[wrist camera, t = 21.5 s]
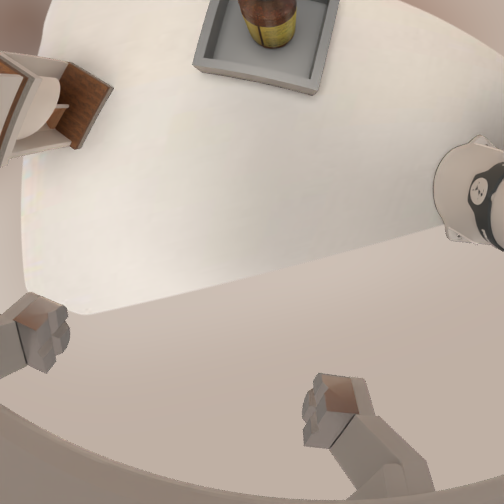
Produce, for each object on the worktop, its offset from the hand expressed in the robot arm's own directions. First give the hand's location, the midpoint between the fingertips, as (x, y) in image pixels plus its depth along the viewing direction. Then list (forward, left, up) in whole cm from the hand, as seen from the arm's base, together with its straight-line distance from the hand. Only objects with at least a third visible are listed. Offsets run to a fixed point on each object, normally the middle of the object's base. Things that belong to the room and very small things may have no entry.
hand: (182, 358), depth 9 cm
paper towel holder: (+32, -6, -39) cm, 51 cm away
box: (+3, -21, -39) cm, 44 cm away
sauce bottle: (+3, -21, -38) cm, 44 cm away
